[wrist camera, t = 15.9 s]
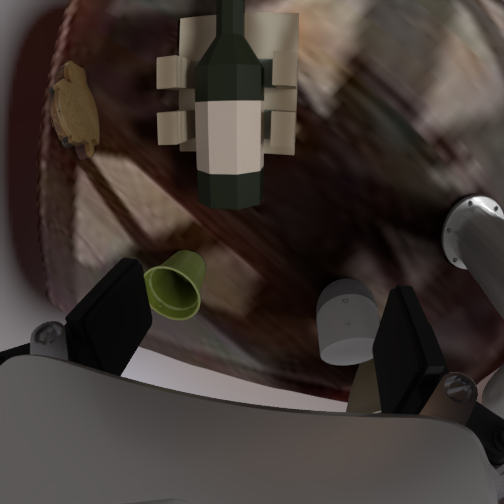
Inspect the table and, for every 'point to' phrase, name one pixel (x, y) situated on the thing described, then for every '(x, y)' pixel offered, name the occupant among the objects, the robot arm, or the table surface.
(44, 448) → the robot arm
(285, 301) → the table surface
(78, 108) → the wooden carving
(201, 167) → the wine bottle
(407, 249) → the table surface
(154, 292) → the plant pot
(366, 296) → the smart speaker
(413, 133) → the table surface
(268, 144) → the rest
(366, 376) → the plant pot
